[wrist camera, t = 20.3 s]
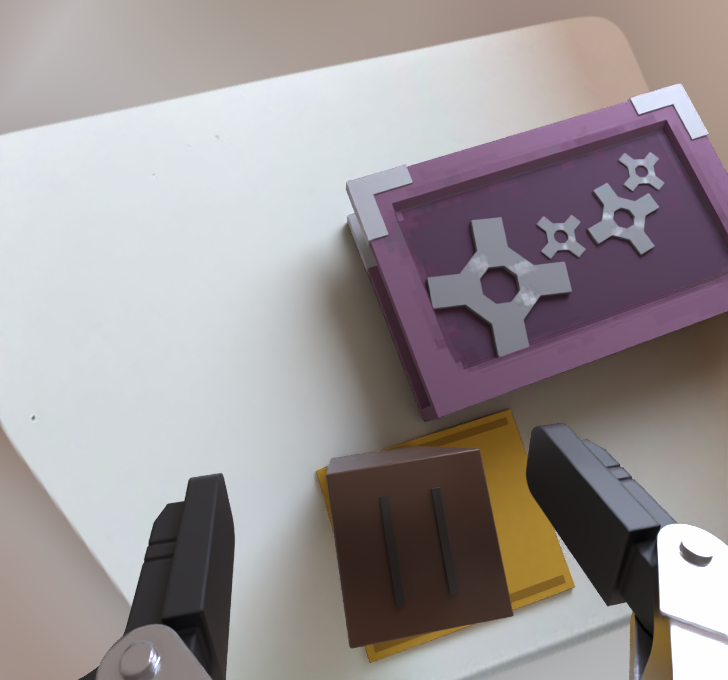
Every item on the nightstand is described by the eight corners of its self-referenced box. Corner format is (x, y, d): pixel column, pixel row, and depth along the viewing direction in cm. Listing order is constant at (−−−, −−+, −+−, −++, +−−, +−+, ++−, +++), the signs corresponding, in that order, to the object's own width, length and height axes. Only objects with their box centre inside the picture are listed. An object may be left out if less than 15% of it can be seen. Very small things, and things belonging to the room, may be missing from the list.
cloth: (369, 661, 30) (369, 663, 30) (316, 470, 32) (316, 470, 32) (573, 585, 32) (575, 587, 31) (508, 409, 34) (510, 408, 34)
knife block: (425, 530, 32) (515, 617, 16) (342, 545, 31) (349, 651, 15) (411, 445, 33) (481, 448, 17) (330, 458, 32) (325, 474, 16)
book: (638, 127, 39) (680, 83, 35) (732, 308, 36) (793, 287, 32) (344, 217, 36) (346, 181, 31) (422, 422, 33) (437, 418, 28)
